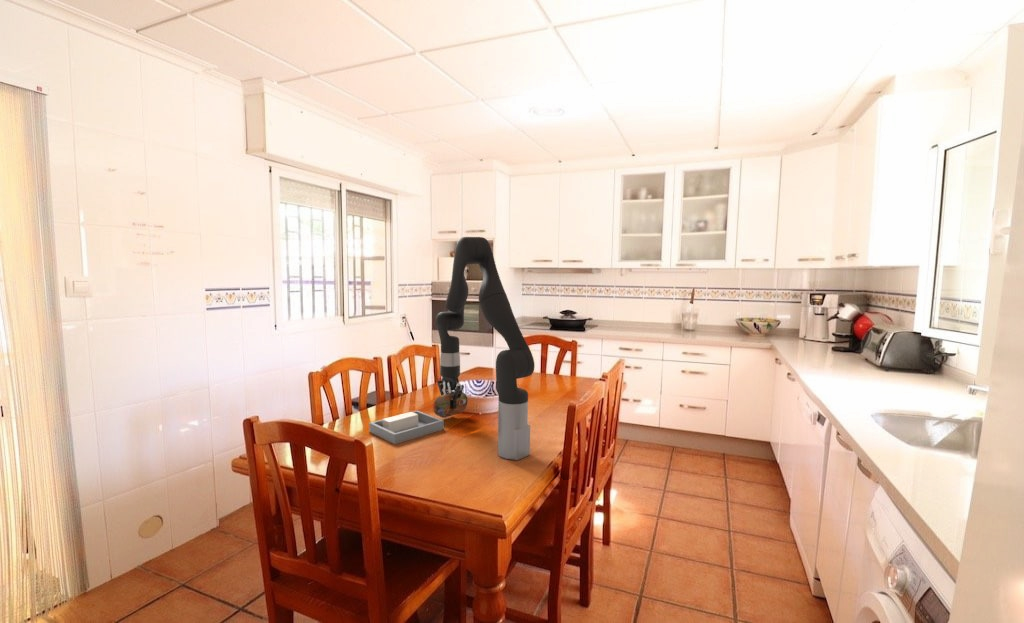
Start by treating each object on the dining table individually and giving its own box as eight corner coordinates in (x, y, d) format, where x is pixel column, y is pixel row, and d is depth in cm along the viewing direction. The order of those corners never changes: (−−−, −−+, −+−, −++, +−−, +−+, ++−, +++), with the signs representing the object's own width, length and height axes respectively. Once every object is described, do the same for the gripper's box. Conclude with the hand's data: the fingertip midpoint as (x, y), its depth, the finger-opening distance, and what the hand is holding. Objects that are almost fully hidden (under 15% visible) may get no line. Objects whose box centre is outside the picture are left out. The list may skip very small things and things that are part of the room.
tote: (443, 431, 163) (443, 420, 162) (394, 446, 148) (394, 434, 148) (417, 420, 173) (417, 410, 173) (369, 434, 159) (369, 422, 159)
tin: (436, 419, 169) (437, 398, 168) (431, 417, 171) (432, 395, 170) (467, 411, 180) (468, 390, 179) (462, 409, 182) (463, 388, 181)
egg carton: (418, 425, 166) (418, 414, 166) (389, 433, 158) (389, 422, 157) (411, 422, 169) (411, 411, 169) (382, 430, 161) (382, 419, 160)
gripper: (469, 364, 172) (469, 409, 173) (446, 360, 181) (446, 402, 183) (454, 367, 166) (454, 414, 168) (431, 362, 176) (431, 406, 177)
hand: (450, 407), depth 175 cm, fingers closed on tin, 2 cm apart
